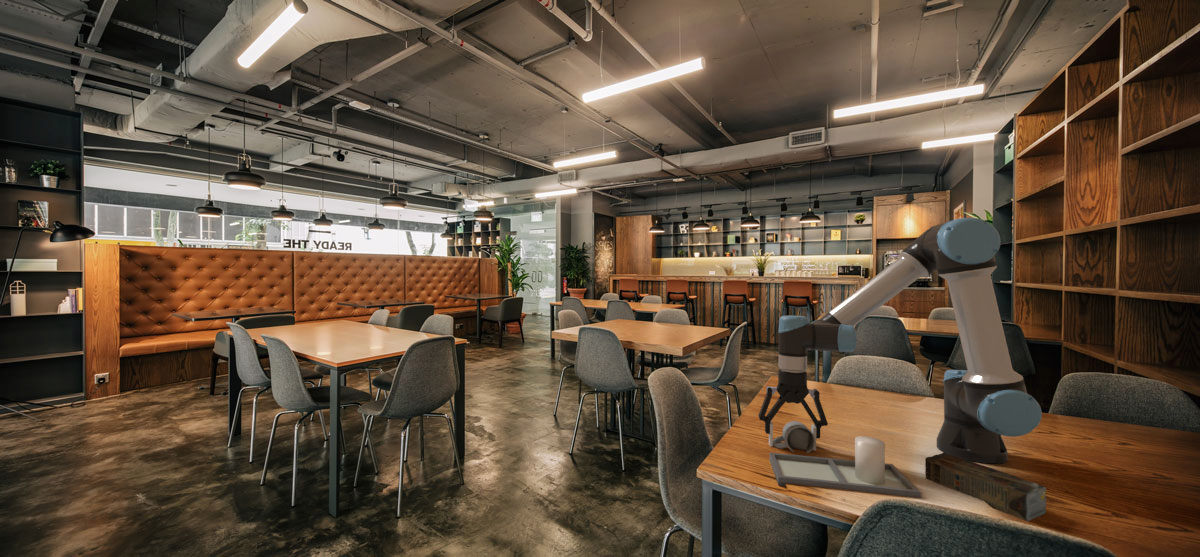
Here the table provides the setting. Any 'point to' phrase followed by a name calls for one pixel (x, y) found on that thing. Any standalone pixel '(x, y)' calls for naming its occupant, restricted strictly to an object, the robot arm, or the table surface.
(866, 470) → the white pillar candle
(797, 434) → the ceramic mug
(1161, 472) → the table surface
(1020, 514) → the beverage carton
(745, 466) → the table surface
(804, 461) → the cup caddy
